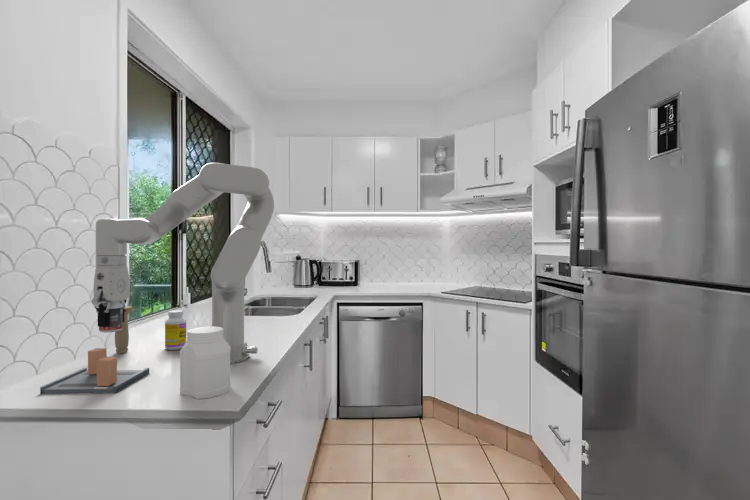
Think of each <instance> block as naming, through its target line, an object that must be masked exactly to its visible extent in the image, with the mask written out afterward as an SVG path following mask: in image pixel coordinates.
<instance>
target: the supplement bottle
mask: <svg viewBox="0 0 750 500" xmlns="http://www.w3.org/2000/svg"><path fill="white" fill-rule="evenodd" d="M167 315H168V318H167V319H166V320H165V322H164V348H165V350H168V351H169V350H170V351H175V350H176V351H177V350H181V349H182V348H183V346H184V345H185V343H186V342H187V319H186V318H185V317H183V315H184V310H181V309H179V310H176V309H175V310H170V311H168V314H167Z"/></svg>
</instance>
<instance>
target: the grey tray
mask: <svg viewBox="0 0 750 500" xmlns="http://www.w3.org/2000/svg"><path fill="white" fill-rule="evenodd" d="M148 375H150V368H149V367H145V368H144V369H131V370H130V369H117V382H115V383H113V384H112V385H110V386H97V374H88V367H87V368H86V367H84V368H81V369H79V370H77V371H74V372H72V373H69V374H67V375H65V376H63V377H60V378H58V379H56V380H54V381H51V382H49V383H47V384H44V385H42V386H40V387H39V390H40V391H39V392H40V394H41V395H44V394H45V395H46V394H49V395H51V394H58V395H59V394H61V395H62V394H117V393H119V392H121V391H122V390H123V389H125V388H128V387H129V386H131V385H132V384H134V383H135V382H138V381H139V380H141V379H143V378H144V377H146V376H148Z"/></svg>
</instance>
